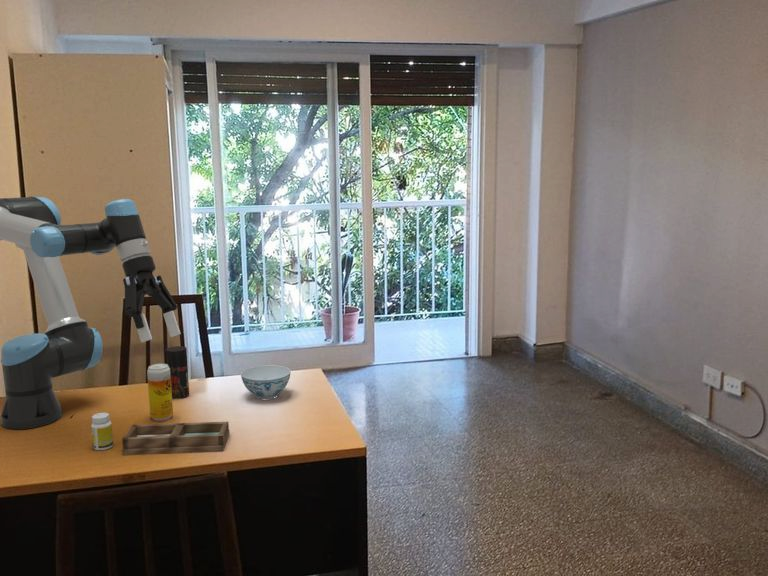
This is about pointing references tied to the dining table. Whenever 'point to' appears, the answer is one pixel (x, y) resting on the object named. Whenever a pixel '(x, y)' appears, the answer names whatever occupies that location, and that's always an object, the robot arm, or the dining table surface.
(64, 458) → the dining table surface
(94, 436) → the supplement bottle
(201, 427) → the divided tray
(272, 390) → the chinaware
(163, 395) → the yellow canister
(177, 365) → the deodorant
